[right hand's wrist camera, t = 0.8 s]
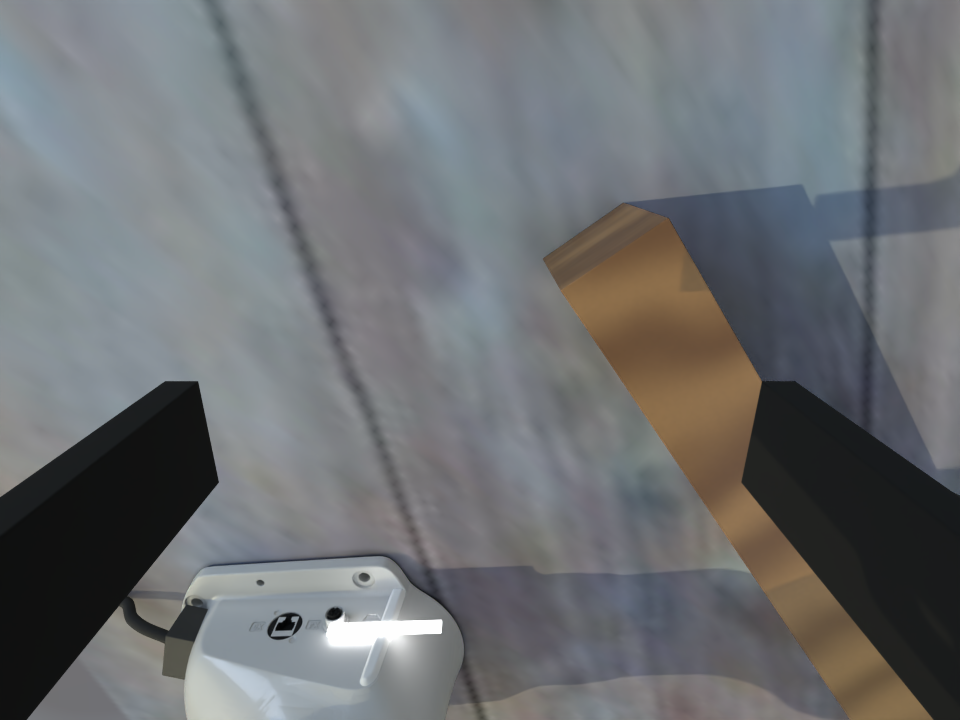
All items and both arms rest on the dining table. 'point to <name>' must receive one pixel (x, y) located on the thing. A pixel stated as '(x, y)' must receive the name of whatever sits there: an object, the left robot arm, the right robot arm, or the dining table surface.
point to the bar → (712, 427)
